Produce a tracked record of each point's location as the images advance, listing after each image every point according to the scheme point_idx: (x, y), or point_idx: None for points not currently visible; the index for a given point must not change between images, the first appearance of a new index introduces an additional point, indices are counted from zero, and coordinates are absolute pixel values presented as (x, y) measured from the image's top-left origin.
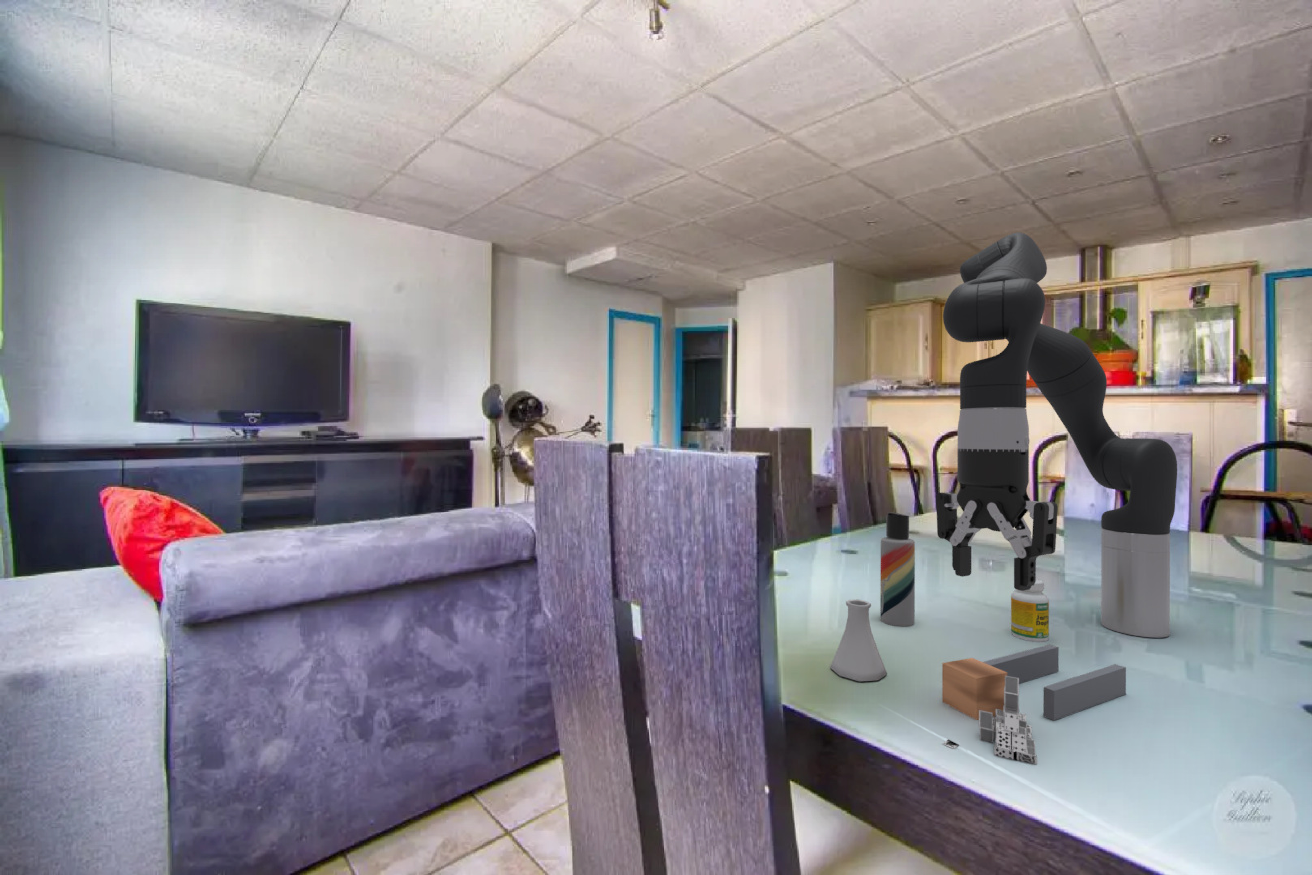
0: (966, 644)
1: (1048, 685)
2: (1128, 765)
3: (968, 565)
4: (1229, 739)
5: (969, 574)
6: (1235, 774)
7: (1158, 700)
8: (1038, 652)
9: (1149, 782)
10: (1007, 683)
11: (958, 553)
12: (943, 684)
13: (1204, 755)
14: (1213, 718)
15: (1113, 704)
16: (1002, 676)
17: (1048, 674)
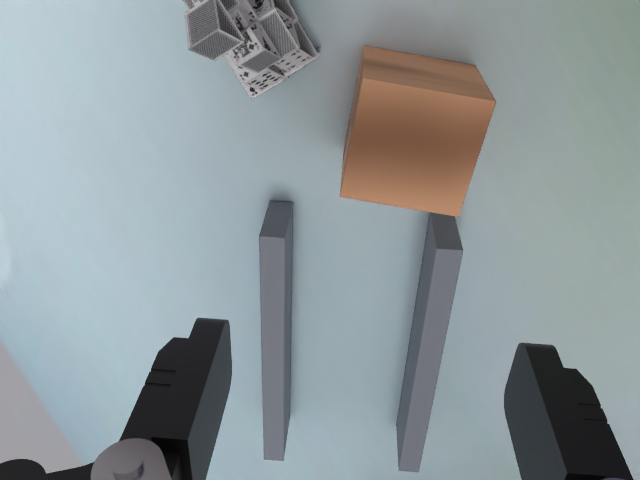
0: None
1: (284, 256)
2: (91, 132)
3: (517, 426)
4: (99, 368)
5: (506, 394)
6: (17, 254)
7: (231, 428)
8: (407, 415)
9: (35, 97)
10: (211, 17)
11: (568, 438)
12: (480, 80)
13: (75, 283)
14: None
15: (258, 359)
16: (343, 175)
17: (400, 398)
